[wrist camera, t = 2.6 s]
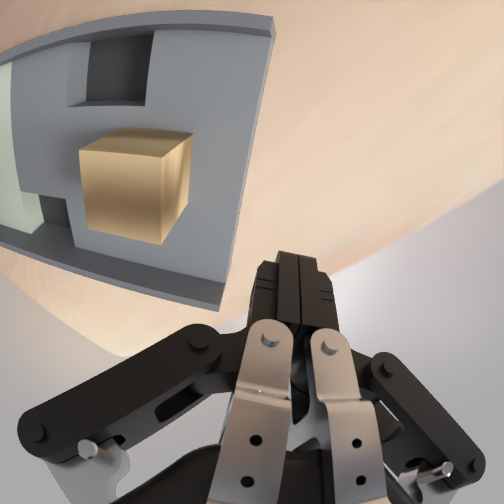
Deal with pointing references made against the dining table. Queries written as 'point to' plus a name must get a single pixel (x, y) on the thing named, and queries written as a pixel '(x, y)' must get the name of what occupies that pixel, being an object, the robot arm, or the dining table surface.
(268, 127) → the dining table surface
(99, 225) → the oak block
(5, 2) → the dining table surface
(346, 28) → the dining table surface
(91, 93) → the box
